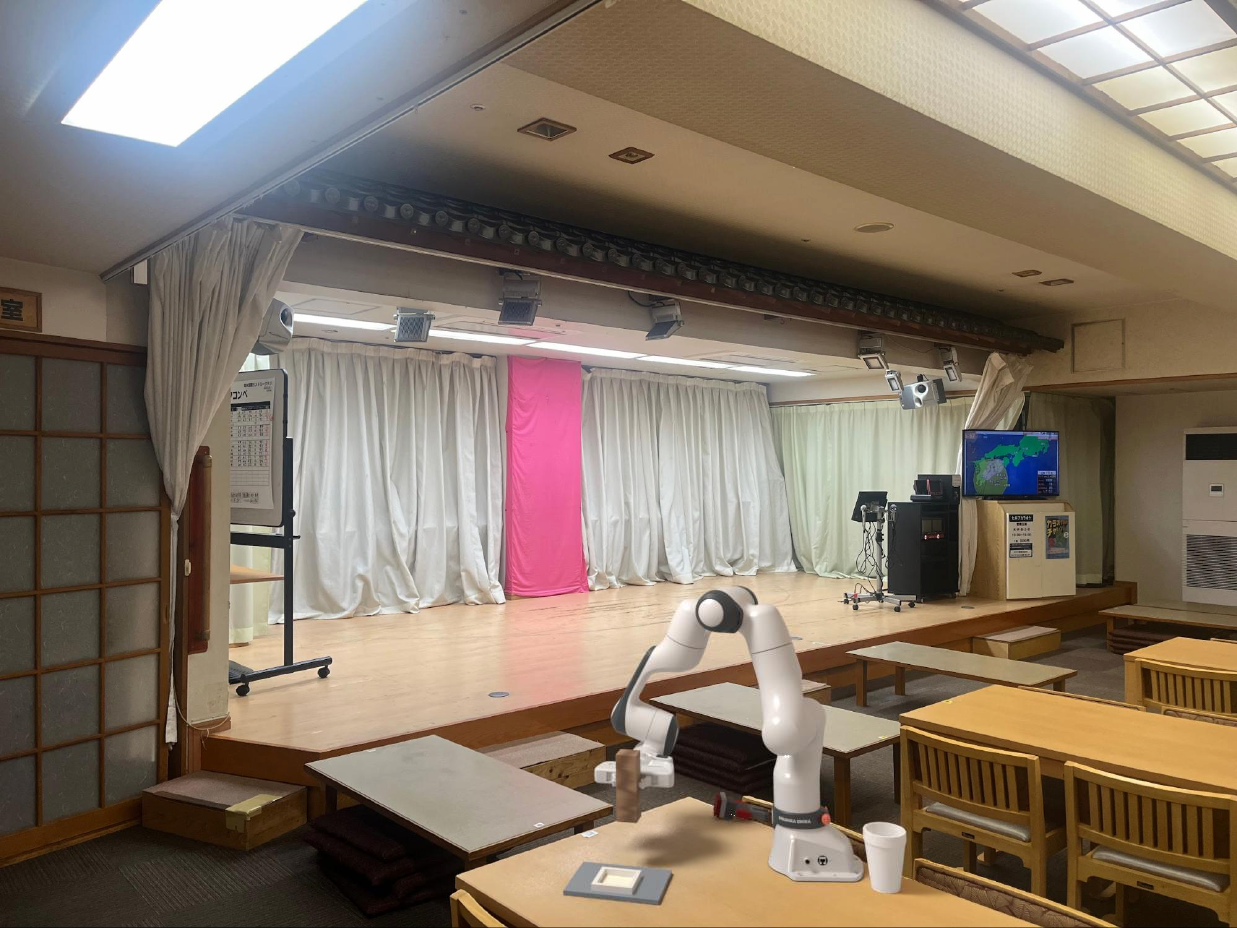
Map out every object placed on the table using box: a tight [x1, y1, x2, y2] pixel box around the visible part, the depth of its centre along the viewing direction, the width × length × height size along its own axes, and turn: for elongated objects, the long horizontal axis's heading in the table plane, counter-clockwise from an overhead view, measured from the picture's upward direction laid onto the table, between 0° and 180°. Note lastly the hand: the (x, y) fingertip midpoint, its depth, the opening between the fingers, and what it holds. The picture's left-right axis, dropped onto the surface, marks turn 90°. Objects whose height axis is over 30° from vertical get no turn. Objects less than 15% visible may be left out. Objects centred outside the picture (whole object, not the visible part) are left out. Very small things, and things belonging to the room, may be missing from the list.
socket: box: [591, 867, 641, 895], centre depth 197 cm, size 10×10×2 cm
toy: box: [712, 791, 771, 822], centre depth 240 cm, size 9×6×15 cm
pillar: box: [615, 748, 642, 824], centre depth 210 cm, size 5×5×16 cm
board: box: [562, 861, 673, 906], centre depth 199 cm, size 22×16×1 cm
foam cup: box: [862, 821, 907, 895], centre depth 196 cm, size 10×9×13 cm
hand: (627, 784), depth 209 cm, fingers closed on pillar, 5 cm apart
